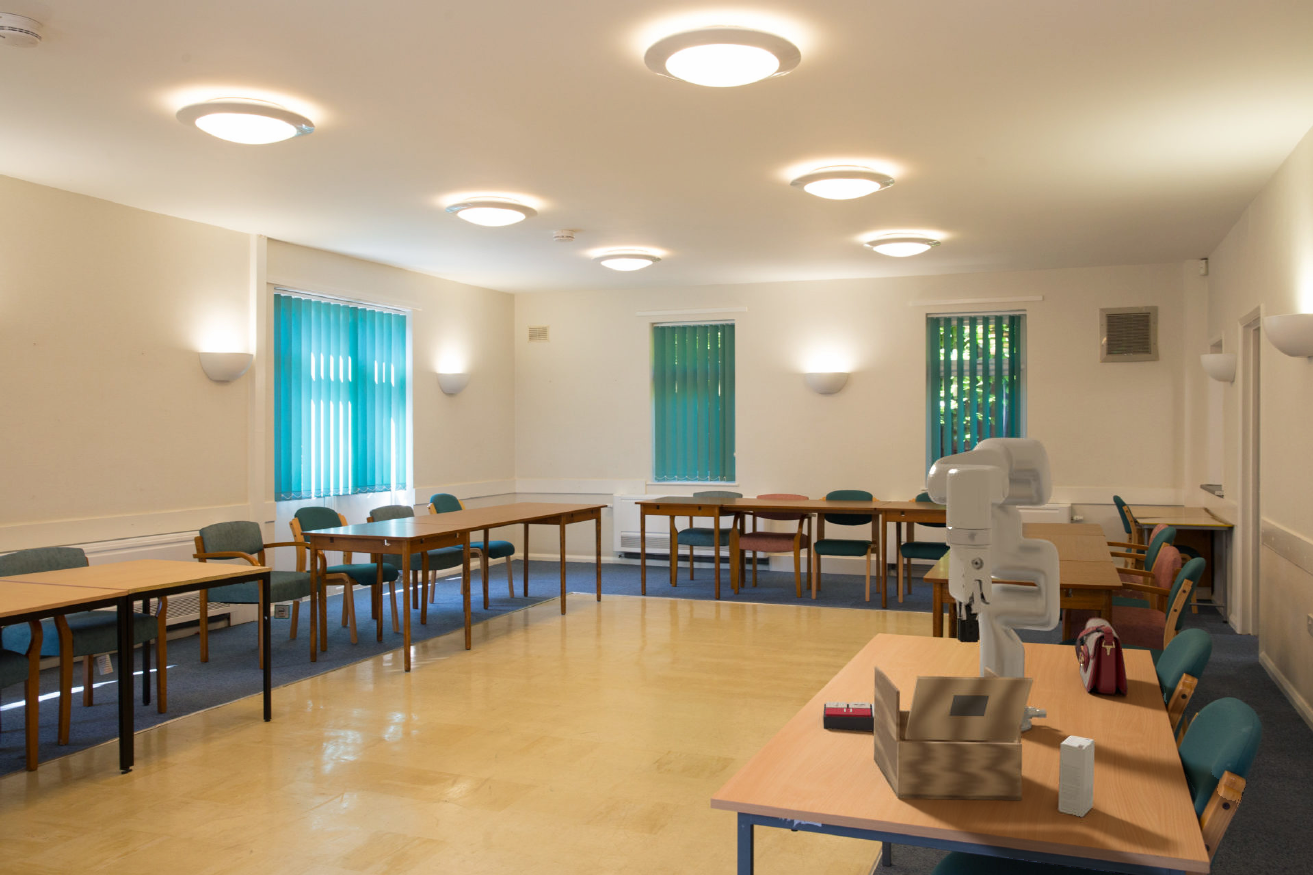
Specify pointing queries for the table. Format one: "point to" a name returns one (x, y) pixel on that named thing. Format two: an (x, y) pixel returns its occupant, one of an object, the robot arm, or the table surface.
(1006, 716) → the carton flap
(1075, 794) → the skincare box
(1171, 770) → the table surface
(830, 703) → the calculator
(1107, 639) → the handbag
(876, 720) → the carton
